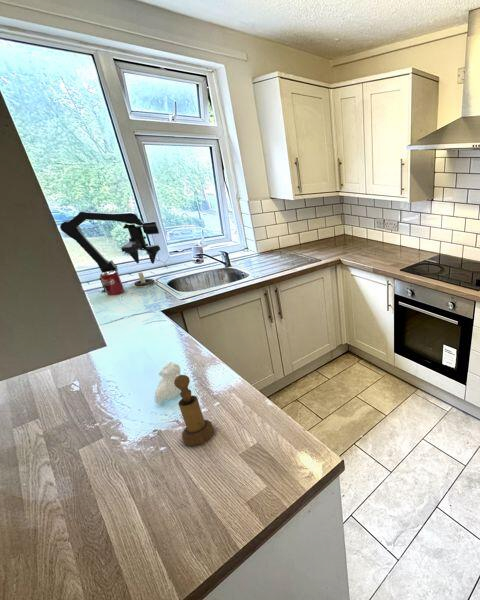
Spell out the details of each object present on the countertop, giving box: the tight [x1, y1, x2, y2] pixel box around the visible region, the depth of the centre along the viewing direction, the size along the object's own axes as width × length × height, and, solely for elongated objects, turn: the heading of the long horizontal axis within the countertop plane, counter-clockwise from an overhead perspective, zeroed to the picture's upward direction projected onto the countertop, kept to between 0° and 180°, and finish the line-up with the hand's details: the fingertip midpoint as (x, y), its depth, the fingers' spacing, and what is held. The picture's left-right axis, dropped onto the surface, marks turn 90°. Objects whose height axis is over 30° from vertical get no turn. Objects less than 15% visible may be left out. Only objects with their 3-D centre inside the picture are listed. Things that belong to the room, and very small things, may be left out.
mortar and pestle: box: [174, 374, 214, 447], centre depth 79 cm, size 7×6×18 cm
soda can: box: [99, 271, 126, 296], centre depth 172 cm, size 7×7×12 cm
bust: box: [154, 361, 182, 405], centre depth 96 cm, size 12×8×11 cm
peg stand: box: [129, 271, 158, 288], centre depth 185 cm, size 9×9×8 cm
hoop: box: [133, 278, 156, 286], centre depth 186 cm, size 9×9×2 cm
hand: (145, 263), depth 185 cm, fingers open, 9 cm apart
